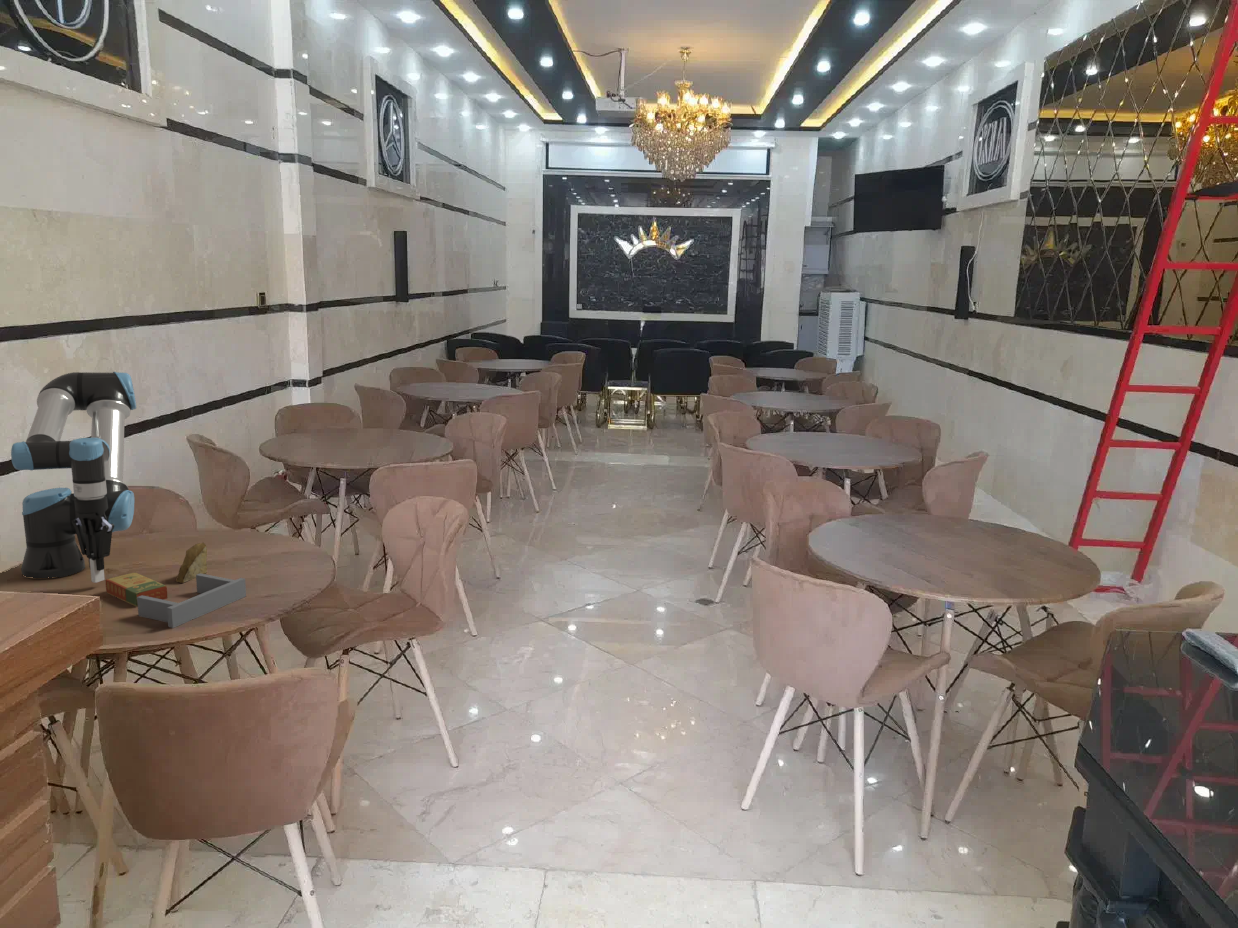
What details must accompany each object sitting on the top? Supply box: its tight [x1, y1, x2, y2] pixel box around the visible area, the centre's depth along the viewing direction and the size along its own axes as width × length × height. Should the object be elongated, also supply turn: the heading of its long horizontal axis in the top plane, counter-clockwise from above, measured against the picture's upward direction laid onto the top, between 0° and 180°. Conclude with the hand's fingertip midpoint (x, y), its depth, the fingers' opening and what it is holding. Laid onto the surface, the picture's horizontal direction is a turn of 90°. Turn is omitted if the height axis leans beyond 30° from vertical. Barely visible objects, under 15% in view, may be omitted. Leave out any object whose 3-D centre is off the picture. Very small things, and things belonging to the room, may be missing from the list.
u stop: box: [137, 573, 247, 629], centre depth 223 cm, size 14×24×5 cm, turn 160°
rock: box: [175, 542, 208, 584], centre depth 244 cm, size 11×9×10 cm
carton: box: [104, 572, 168, 608], centre depth 230 cm, size 8×16×4 cm, turn 56°
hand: (98, 580), depth 234 cm, fingers closed
